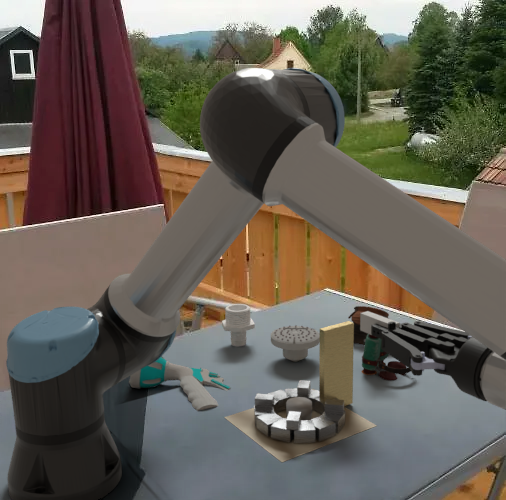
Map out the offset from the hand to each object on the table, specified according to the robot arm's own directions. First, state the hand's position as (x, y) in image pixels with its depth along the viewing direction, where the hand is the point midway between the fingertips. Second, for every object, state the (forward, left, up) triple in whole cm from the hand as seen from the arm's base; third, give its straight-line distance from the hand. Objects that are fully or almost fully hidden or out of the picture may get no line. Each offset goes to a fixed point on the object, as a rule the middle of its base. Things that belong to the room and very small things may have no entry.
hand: (364, 320), depth 99 cm
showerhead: (+7, +27, -19) cm, 33 cm away
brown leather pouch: (+28, +28, -19) cm, 44 cm away
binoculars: (+18, +13, -19) cm, 29 cm away
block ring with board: (-5, +7, -17) cm, 19 cm away
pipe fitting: (+4, +43, -19) cm, 47 cm away
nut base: (-7, +7, -18) cm, 21 cm away
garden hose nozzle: (-16, +29, -19) cm, 38 cm away
